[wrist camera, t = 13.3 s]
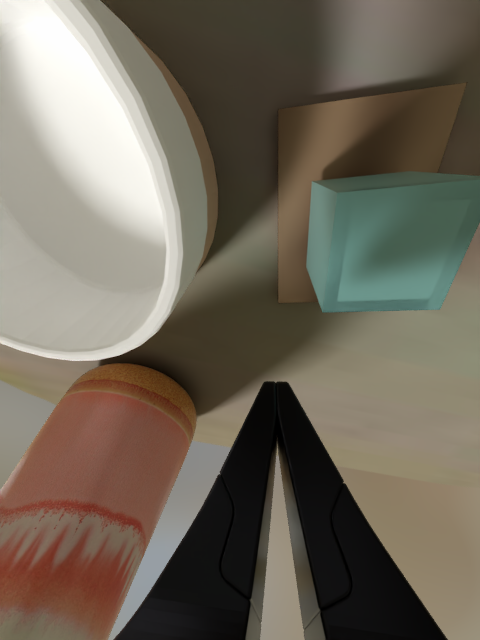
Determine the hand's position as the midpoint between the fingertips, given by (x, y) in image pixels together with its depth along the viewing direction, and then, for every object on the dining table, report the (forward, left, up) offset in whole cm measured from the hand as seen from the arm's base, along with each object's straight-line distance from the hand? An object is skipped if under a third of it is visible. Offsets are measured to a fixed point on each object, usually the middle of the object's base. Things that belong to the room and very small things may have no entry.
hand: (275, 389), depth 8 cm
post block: (-5, -3, -12) cm, 13 cm away
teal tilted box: (-5, -3, -10) cm, 12 cm away
